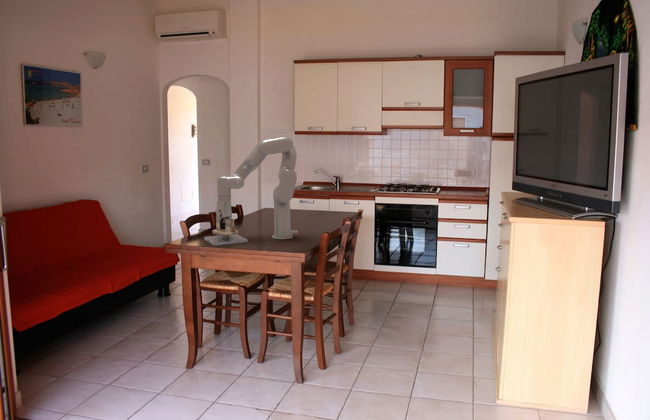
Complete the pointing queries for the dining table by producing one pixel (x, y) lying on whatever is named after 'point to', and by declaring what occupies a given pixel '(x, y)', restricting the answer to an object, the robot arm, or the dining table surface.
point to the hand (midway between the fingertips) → (224, 228)
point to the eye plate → (225, 239)
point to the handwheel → (228, 228)
